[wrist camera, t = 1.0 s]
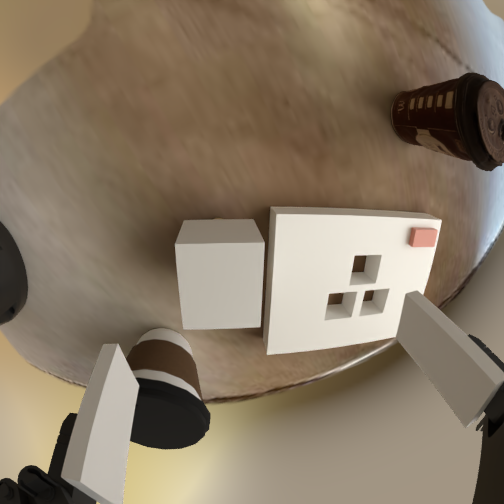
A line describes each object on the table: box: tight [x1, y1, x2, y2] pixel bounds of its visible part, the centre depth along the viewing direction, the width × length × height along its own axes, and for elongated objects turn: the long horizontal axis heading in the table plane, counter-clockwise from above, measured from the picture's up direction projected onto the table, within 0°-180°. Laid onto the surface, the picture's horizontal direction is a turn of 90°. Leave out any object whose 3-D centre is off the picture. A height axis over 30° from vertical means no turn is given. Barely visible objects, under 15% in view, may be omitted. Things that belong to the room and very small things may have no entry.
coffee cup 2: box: [391, 73, 504, 171], centre depth 19 cm, size 9×8×13 cm
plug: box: [175, 217, 265, 329], centre depth 24 cm, size 7×6×9 cm
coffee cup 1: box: [126, 328, 210, 449], centre depth 26 cm, size 11×11×12 cm
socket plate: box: [263, 207, 442, 355], centre depth 30 cm, size 16×20×4 cm
